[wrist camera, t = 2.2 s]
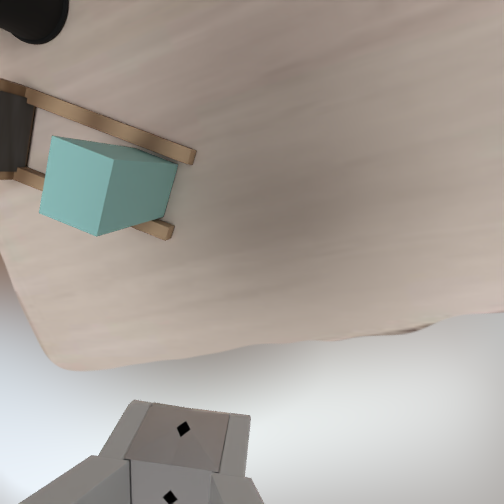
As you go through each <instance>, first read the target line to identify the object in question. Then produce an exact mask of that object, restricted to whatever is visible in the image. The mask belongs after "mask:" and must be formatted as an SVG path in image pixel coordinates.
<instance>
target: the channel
mask: <svg viewBox="0 0 504 504" xmlns="http://www.w3.org/2000/svg"><path fill="white" fill-rule="evenodd" d="M35 106H36V107H39V108H41V109H44V110H46V111H49V112H52V113H54V114H57V115H60V116H62V117H65V118H67V119H70V120H73V121H75V122H78V123H80V124H83V125H86V126H88V127H91V128H94V129H96V130H99V131H101V132H104V133H107V134H109V135H112V136H115V137H117V138H120V139H122V140H125V141H128V142H130V143H133V144H136V145H138V146H141V147H143V148H146V149H149V150H151V151H154V152H156V153H159V154H162V155H164V156H167V157H170V158H172V159H175V160H177V161H180V162H183V163H185V164H190V165H193V161H194V158H195V155H196V150H193V149H191V148H188V147H185V146H183V145H180V144H177V143H175V142H172V141H169V140H167V139H164V138H162V137H159V136H156V135H154V134H151V133H148V132H146V131H143V130H140V129H138V128H135V127H132V126H130V125H127V124H124V123H122V122H119V121H116V120H114V119H111V118H109V117H106V116H103V115H101V114H98V113H95V112H93V111H90V110H87V109H85V108H82V107H79V106H77V105H74V104H71V103H69V102H66V101H63V100H61V99H58V98H56V97H53V96H50V95H48V94H45V93H42V92H40V91H37V90H34V89H32V88H29V87H26V86H24V85H21V84H18V83H15V82H11V81H8V80H5V79H2V78H0V180H8V179H13V180H16V181H18V182H21V183H23V184H26V185H28V186H31V187H33V188H36V189H38V190H41V191H43V186H44V180H45V175H46V174H43V173H41V172H38V171H36V170H33V169H30V168H28V167H26V164H27V158H28V151H29V144H30V138H31V131H32V125H33V118H34V111H35ZM131 227H133V228H135V229H138V230H140V231H143V232H145V233H147V234H150V235H152V236H155V237H157V238H160V239H162V240H165V241H166V240H168V239H170V238H171V236H172V233H173V229H174V225H171V224H169V223H166V222H164V221H161V220H159V219H154V220H151V221H148V222H144V223H141V224H137V225H134V226H131Z"/></svg>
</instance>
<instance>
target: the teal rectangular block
mask: <svg viewBox="0 0 504 504" xmlns="http://www.w3.org/2000/svg"><path fill="white" fill-rule="evenodd" d="M177 167H178V164H176V163H173V162H171V161H168V160H165V159H163V158H160V157H158V156H155V155H152V154H150V153H147V152H145V151H142V150H139V149H137V148H131V147H125V146H118V145H111V144H105V143H98V142H91V141H85V140H78V139H71V138H65V137H58V136H52V139H51V145H50V151H49V157H48V163H47V169H46V175H45V180H44V186H43V192H42V198H41V204H40V210H39V213H40V214H43V215H45V216H48V217H50V218H52V219H55V220H57V221H60V222H62V223H65V224H67V225H70V226H72V227H75V228H77V229H79V230H82V231H84V232H87V233H89V234H92V235H94V236H100V235H103V234H107V233H110V232H114V231H117V230H120V229H124V228H127V227H131V226H134V225H137V224H141V223H144V222H148V221H151V220H154V219H158V218H161V217H164V213H165V210H166V206H167V203H168V199H169V196H170V192H171V188H172V185H173V181H174V178H175V174H176V171H177Z"/></svg>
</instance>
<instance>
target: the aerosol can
mask: <svg viewBox="0 0 504 504" xmlns="http://www.w3.org/2000/svg"><path fill="white" fill-rule="evenodd" d="M67 11H68V0H0V28H2V29H4V30H6V31H8V32H11V33H12V34H13V35H14V36H15V37H17V38H18V39H20V40H21V41H24V42H26V43H31V44H42V43H45V42H48V41H50V40H51V39H53V38H54V37H55V36H56V35H57V34H58V33H59V32H60V30H61V28H62V27H63V25H64V22H65V20H66V16H67Z"/></svg>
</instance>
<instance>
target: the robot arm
mask: <svg viewBox="0 0 504 504" xmlns="http://www.w3.org/2000/svg"><path fill="white" fill-rule="evenodd" d="M250 420H251V417H250V415H243V414H235V413H231V414H230V413H225V412H217V411H209V410H201V409H193V408H192V409H191V408H184V407H179V406H172V405H166V404H160V403H151V402H144V401H139V400H133V401H132V402H131V403H130V404H129V405H128V407H127V408H126V410H125V412H124V413H123V415H122V417H121V419H120V420H119V422H118V423H117V425H116V427H115V428H114V430H113V432H112V433H111V435H110V437H109V438H108V440H107V442H106V443H105V445H104V447H103V448H102V450H101V452H100V453H99V455H98V456H94V455H91V456H90V457H88V458H87V459H85V460H84V461H82V462H81V463H79V464H78V465H76V466H75V467H73V468H72V469H70V470H69V471H67V472H66V473H64V474H63V475H61V476H60V477H58V478H57V479H55V480H54V481H52V482H51V483H49V484H48V485H46V486H45V487H43V488H41V489H40V490H38V491H37V492H36V493H34V494H32V495H31V496H30V497H28V498H26V499H25V500H23V501H22V502H20V503H19V504H264V503H263V500H262V498H261V497H260V495H259V492H258V491H257V489H256V487H255V485H254V483H253V481H252V479H251V478H247V477H245V469H246V459H247V449H248V440H249V431H250Z"/></svg>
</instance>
